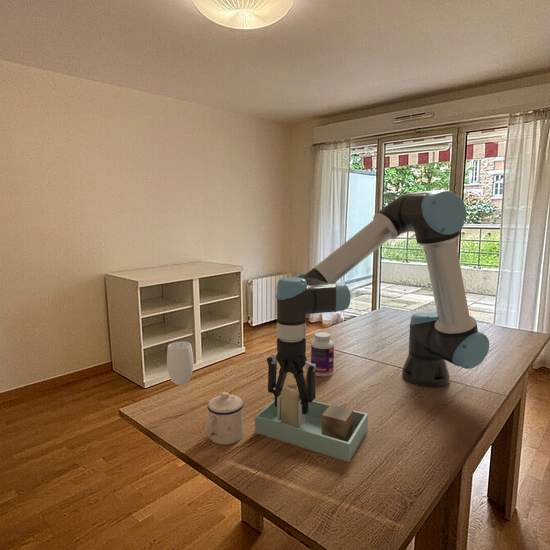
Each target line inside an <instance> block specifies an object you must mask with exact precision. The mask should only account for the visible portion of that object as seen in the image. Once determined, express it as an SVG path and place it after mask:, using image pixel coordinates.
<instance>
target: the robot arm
mask: <svg viewBox="0 0 550 550" xmlns="http://www.w3.org/2000/svg"><path fill="white" fill-rule="evenodd" d="M372 219H373V220H371V221H370V222H369V223H368V224H367V225H365V226H364V227H362V229H360V230H359V231H358V232H357V233H355V234H354V235H353V236H352V237H350V238H349V239H348V240H347V241H345V242H344V243H343V244H342V245H341V246H339V247H338V248H336V250H334V251H333V252H331V253H330V254H329V255H328V256H327V257H326V258H324V259H322V261H320V262H319V263H318V264H317V265H315V266H314V267H313V268H311V269H310V270H309V271H308V272H306V273H302V274H300V273H299V274H297V275H295V276H294V277H292V276H290V277H289V276H287V277H282V278H279V279H278V281H277V284H276V293H275V294H276V295H275V298H276V337H277V338H276V351H277V354H276V355H275V354H271V355H270V356H268V357H267V358H266V362H267V365H268V372H267V373H268V376H267V392H268V393H270V394H273V397H274V400H275V407H277V420H279V421H280V420H281V390H282V389H284V385H285V382H286V379H287V376H288V373H290V374H292V375H293V379H295V383H296V386H297V387H298V391H299V395H300V399H301V401H300V402H299V403H298V426H300V427H301V426H302V425H303V424H304V423H305V414H306V413H307V412H308V402H309V403H311V402H312V401H313V400H314V401H315V399H316V375H315V370H316V367H317V364H316V363H313V364H312V363H311V361H308V359H307V357H306V356H307V355H306V353H307V351H306V350H307V349H306V348H307V339H306V336H307V315H310V314H311V315H313V314H324V313H336V312H341V311H345V310H347V309H349V306H350V305H351V304H350V303H351V292H350V289H349V287H348V286H347V284H346V283H343V282H338V281H339V280H341V279H342V278H343V277H344V276H345V275H347V274H348V273H349V272H350V271H352V270H353V269H354V268H355V267H357V266H358V265H359V264H360V263H362V262H363V261H365V259H367V258H368V257H369V256H371V254H372V253H373V252H375V251H376V250H378V249H379V248H380V247H382V246H383V244H385V243H386V242H387V241H389V240H396V239H397V238H398V237H399V236H400V235H403V234H405V233H408V232H412V233H413V232H414V235H415V240H416V244H418V245H419V246H421V247H423V250H424V254H425V255H424V256H425V261H426V264H427V269H428V274H429V279H430V284H431V289H432V294H433V295H432V296H433V299H434V304H435V309H436V312H433V311H432V312H431V311H428V312H427V311H426V312H424V311H423V312H417V313H416V312H415V313H413V314H412V315H411V316H410V322H409V337H408V339H409V340H408V355H407V358H406V360H405V363H403V364H404V365H403V367H402V371H401V372H402V373H401V375H402V378H403V380H404V381H407V382H408V383H411V384H413V385H415V386H419V387H424V388H425V387H426V388H442V387H446V386H447V385H448V384H449V383H450V373H449V369H448V366H447V363H446V362H449V363H450V364H452V365H454V366H456V367H460V368H462V369H466V370H469V369H470V370H471V369H475V368H476V367H477V366H479V365H481V364H482V363H483V361H484V360H485V359H486V357H487V355H488V353H489V351H490V341H489V338H488V336H487V335H486V334H485V333H483V332H479V329H478V324H477V320H476V319H475V317H473V316H471V315H470V312H469V307H468V301H467V296H466V291H465V290H466V289H465V284H464V277H463V273H462V268H461V262H460V257H459V252H458V248H457V239H459V237H460V236H461V230H462V229H463V227H464V225H465V222H464V221H466V220H467V207H466V204H465V202H464V200H463V198H462V197H461V196H460V195H458V194H457V193H456V192H455V191H451V190H443V189H434V190H433V189H432V190H425V191H410V192H407V193H405V194H402V195H401V196H398V197H397V198H395V199H394V200H392V201H390V202H389V203H388V204H387V205H385V206H384V207H383V208H381V209H380V210H378V212H376V213H375V214H374V215H373V217H372ZM278 365H279V367H280V368H279V370H278V377H277V368H278ZM304 367H305V371H306V380H305V376H304V373H305V371H304V369H303V368H304Z"/></svg>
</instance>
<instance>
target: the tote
mask: <svg viewBox="0 0 550 550" xmlns="http://www.w3.org/2000/svg"><path fill="white" fill-rule="evenodd" d="M330 405H331V404H330V403H329V404H328V403H325V402H322V401H321V402H320V401H317V400H315V399H314V400H313V401H312V402H311V403H309V402H308V412H307V413H306V414H305V423H304V424H303V425H302V426H301V427H300V426H297V427H294V426H290V425H287V424H284V423H281V420H280V421H279V420H277V407H275V399H273V400H272V401H271V402H270V403H269V404H267V405H266V406H265V407H264V408H263V409H262V410H261V411H259V413H257V414H256V415H255V416H254V433H255V434H258V435H262V436H264V437H268V438H270V439H275V440H277V441H281V442H284V443H287V444H290V445H293V446H297V447H299V448H303V449H307V450H309V451H312V452H315V453H318V454H322V455H325V456H328V457H331V458H335V459H337V460H338V459H339V460H341V461H344V462H348V463H349V462H351V459H353V456H354V455H355V452H357V449H358V447H359V445H360V443H361V442H362V441H363V438H364V436H365V435H366V433H367V431H368V428H369V427H368V425H369V423H368V422H369V414H368V413H365V412H362V411H359V410H358V411H356V410H354V409H352V410H353V431H352V436H351V438H350V440H349V441H348V442H346V441H342V440H339V439H335V438H332V437H328V436H325V435H322V414H323V413H324V412H325V411H326V410H327V408H328V407H329V406H330Z"/></svg>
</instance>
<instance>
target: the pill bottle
mask: <svg viewBox="0 0 550 550" xmlns="http://www.w3.org/2000/svg"><path fill="white" fill-rule="evenodd" d="M334 354H335V344H334V341H333V340H331V334H330V333H329V332H323V331H322V332H321V331H319V332H315V333H314V339H313V340H311V343H310V363H312V364H313V363H316V364H317V367H316V370H315V377H321V378H322V377H329V376H332V375H333V373H334V363H335V362H334V361H335V360H334V358H335V355H334Z"/></svg>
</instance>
